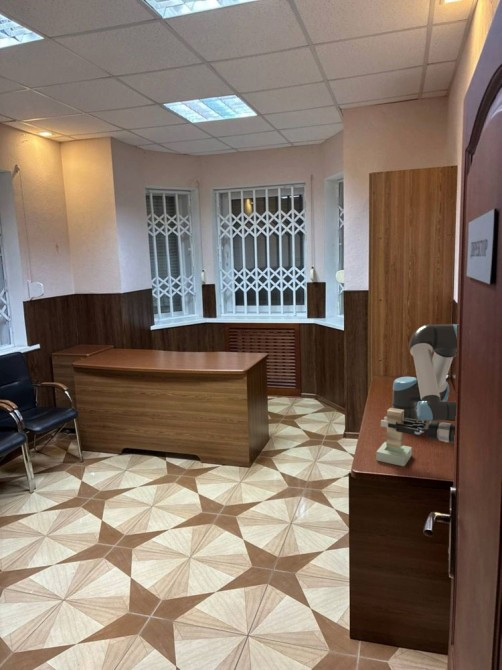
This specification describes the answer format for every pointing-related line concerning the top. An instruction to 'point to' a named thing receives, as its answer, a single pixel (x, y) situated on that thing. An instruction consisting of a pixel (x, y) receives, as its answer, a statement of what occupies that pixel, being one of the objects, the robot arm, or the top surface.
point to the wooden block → (392, 435)
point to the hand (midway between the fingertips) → (382, 421)
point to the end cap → (394, 454)
